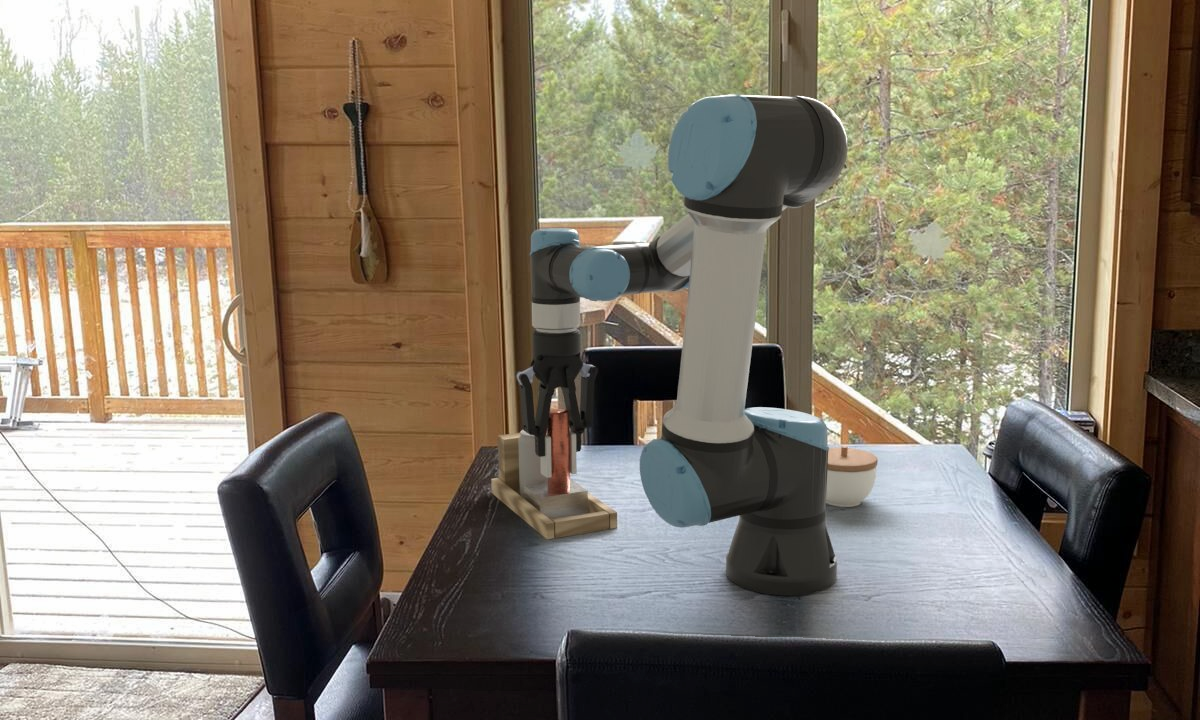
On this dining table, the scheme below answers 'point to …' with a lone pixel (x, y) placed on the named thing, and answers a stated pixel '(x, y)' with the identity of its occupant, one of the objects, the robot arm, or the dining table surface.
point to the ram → (558, 476)
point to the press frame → (510, 496)
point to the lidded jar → (849, 476)
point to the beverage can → (528, 462)
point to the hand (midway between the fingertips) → (558, 473)
